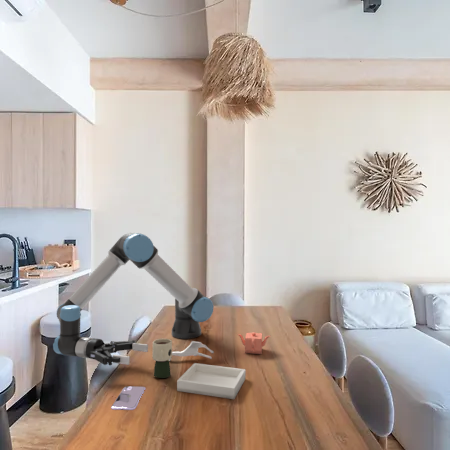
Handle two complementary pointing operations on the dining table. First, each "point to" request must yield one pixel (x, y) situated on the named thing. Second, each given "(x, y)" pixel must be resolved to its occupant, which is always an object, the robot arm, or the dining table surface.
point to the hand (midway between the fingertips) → (138, 354)
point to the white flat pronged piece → (193, 350)
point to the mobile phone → (128, 398)
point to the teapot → (253, 342)
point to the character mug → (162, 357)
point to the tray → (212, 380)
